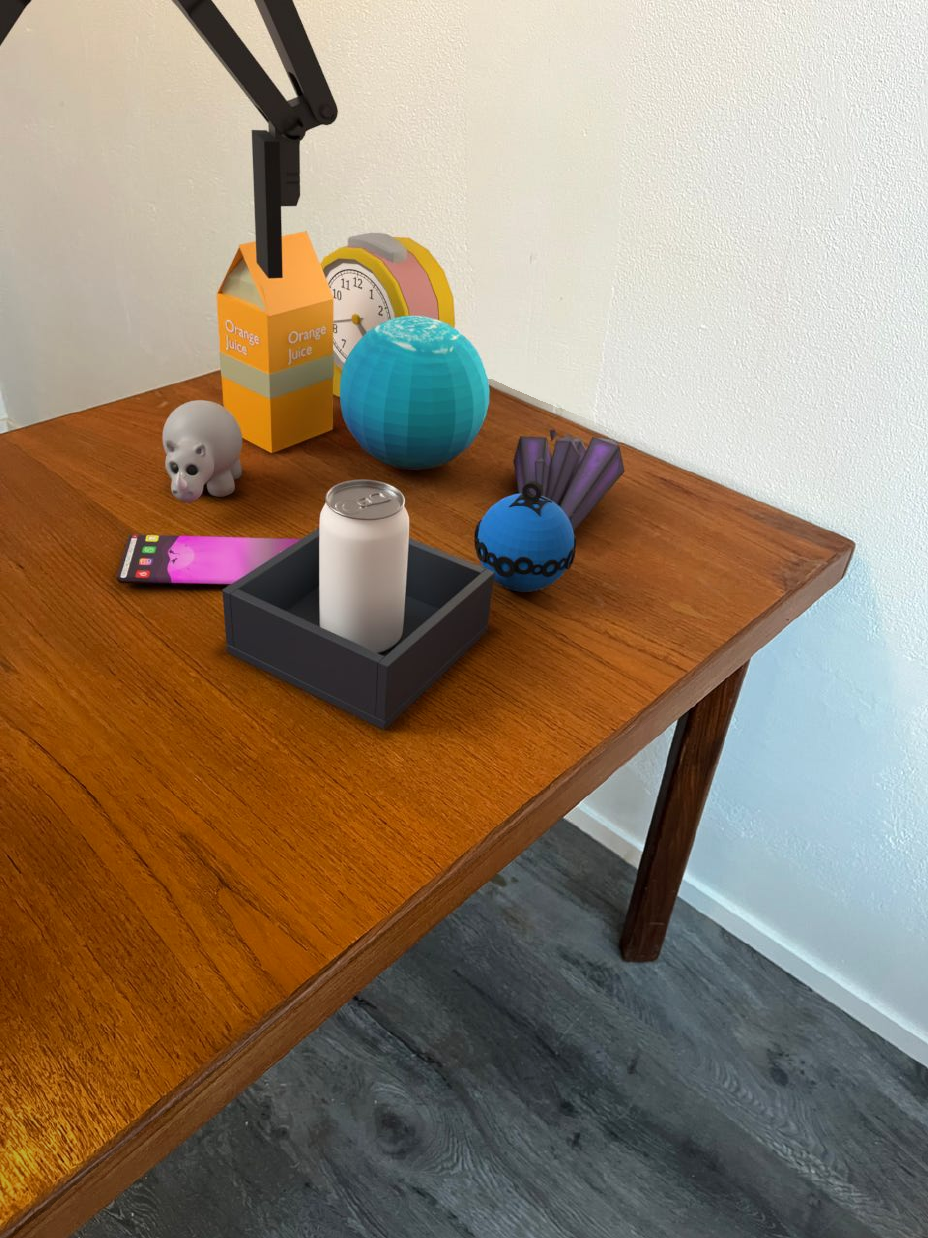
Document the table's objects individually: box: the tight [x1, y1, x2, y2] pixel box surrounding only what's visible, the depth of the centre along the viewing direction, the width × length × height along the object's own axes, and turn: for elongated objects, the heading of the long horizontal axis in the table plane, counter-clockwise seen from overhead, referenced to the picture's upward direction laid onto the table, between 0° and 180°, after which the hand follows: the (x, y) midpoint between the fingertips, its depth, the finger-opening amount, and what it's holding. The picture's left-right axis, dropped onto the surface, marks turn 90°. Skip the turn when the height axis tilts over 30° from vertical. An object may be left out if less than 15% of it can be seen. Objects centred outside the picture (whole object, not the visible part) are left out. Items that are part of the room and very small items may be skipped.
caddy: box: [222, 527, 495, 731], centre depth 75 cm, size 15×15×6 cm
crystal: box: [512, 429, 625, 532], centre depth 96 cm, size 7×12×20 cm
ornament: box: [473, 481, 578, 593], centre depth 82 cm, size 9×9×10 cm
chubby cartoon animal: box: [162, 399, 243, 503], centre depth 90 cm, size 7×12×8 cm, turn 176°
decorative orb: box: [339, 316, 490, 471], centre depth 97 cm, size 15×15×15 cm
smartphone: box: [116, 533, 301, 586], centre depth 83 cm, size 7×15×1 cm, turn 97°
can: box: [318, 479, 410, 654], centre depth 72 cm, size 6×6×12 cm
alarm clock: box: [320, 232, 456, 398], centre depth 109 cm, size 15×8×18 cm, turn 50°
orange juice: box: [215, 230, 334, 454], centre depth 99 cm, size 8×9×20 cm
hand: (136, 275), depth 49 cm, fingers open, 13 cm apart
